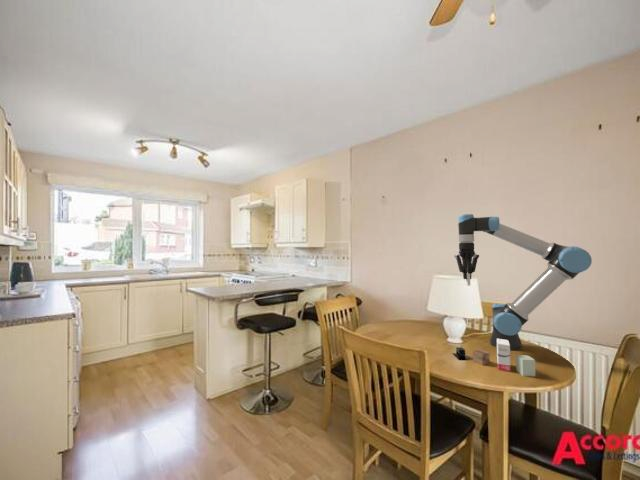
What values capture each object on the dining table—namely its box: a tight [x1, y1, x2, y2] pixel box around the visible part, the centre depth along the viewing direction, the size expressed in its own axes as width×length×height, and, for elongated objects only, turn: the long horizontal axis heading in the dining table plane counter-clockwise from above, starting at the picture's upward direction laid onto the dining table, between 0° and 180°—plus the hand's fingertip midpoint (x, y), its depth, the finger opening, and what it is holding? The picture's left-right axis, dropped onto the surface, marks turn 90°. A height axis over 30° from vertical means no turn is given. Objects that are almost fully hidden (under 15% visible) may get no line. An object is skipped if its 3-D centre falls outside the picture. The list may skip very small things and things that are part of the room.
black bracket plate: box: [451, 346, 470, 361], centre depth 145 cm, size 12×7×5 cm, turn 175°
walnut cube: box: [472, 349, 491, 366], centre depth 138 cm, size 5×5×5 cm
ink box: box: [496, 339, 512, 372], centre depth 132 cm, size 8×5×12 cm, turn 152°
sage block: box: [515, 354, 536, 377], centre depth 125 cm, size 5×5×7 cm
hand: (467, 285), depth 158 cm, fingers closed
